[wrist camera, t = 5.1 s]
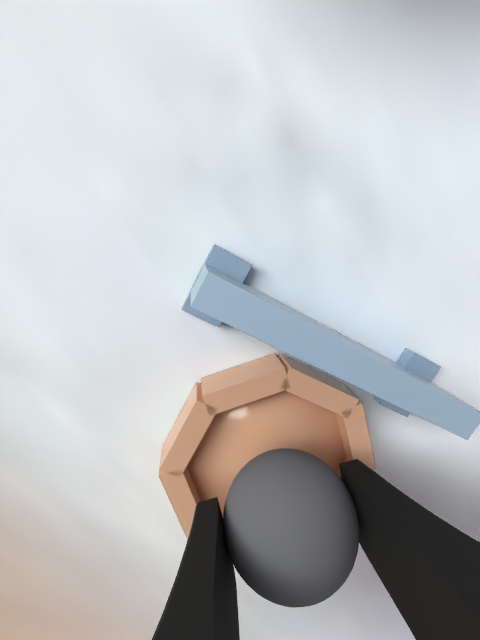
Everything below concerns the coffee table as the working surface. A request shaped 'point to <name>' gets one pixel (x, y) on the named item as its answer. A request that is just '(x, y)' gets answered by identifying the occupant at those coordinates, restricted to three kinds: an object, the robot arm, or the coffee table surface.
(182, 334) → the coffee table surface
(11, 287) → the coffee table surface
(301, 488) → the ball
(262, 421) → the bowl
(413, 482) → the coffee table surface
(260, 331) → the blue slab with nubs
